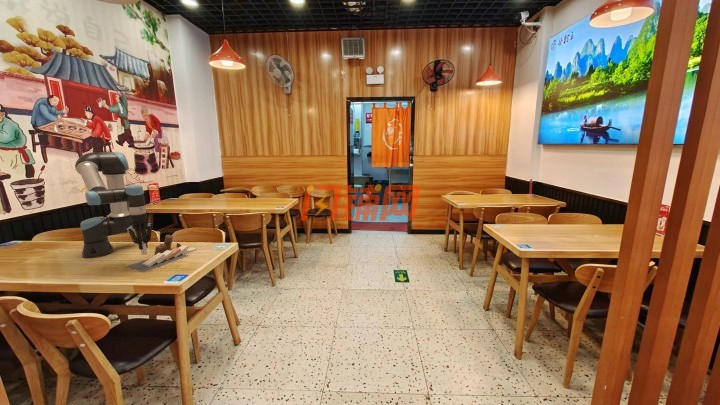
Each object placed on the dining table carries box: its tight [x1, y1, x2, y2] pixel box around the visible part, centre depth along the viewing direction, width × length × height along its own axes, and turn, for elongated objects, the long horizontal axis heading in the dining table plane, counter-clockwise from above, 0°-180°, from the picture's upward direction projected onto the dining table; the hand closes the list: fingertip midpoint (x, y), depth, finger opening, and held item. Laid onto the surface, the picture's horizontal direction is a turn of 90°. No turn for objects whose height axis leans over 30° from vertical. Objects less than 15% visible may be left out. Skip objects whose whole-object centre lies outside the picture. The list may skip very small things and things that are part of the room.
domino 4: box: [173, 244, 190, 258], centre depth 182 cm, size 2×5×10 cm
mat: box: [124, 254, 190, 273], centre depth 172 cm, size 18×26×1 cm
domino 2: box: [156, 250, 173, 264], centre depth 172 cm, size 2×5×10 cm
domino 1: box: [143, 253, 165, 267], centre depth 168 cm, size 2×5×10 cm
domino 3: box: [165, 247, 181, 261], centre depth 177 cm, size 2×5×10 cm
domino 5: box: [180, 247, 198, 255], centre depth 187 cm, size 2×5×10 cm
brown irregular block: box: [153, 234, 182, 256], centre depth 189 cm, size 18×9×10 cm, turn 168°
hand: (144, 254), depth 163 cm, fingers closed
